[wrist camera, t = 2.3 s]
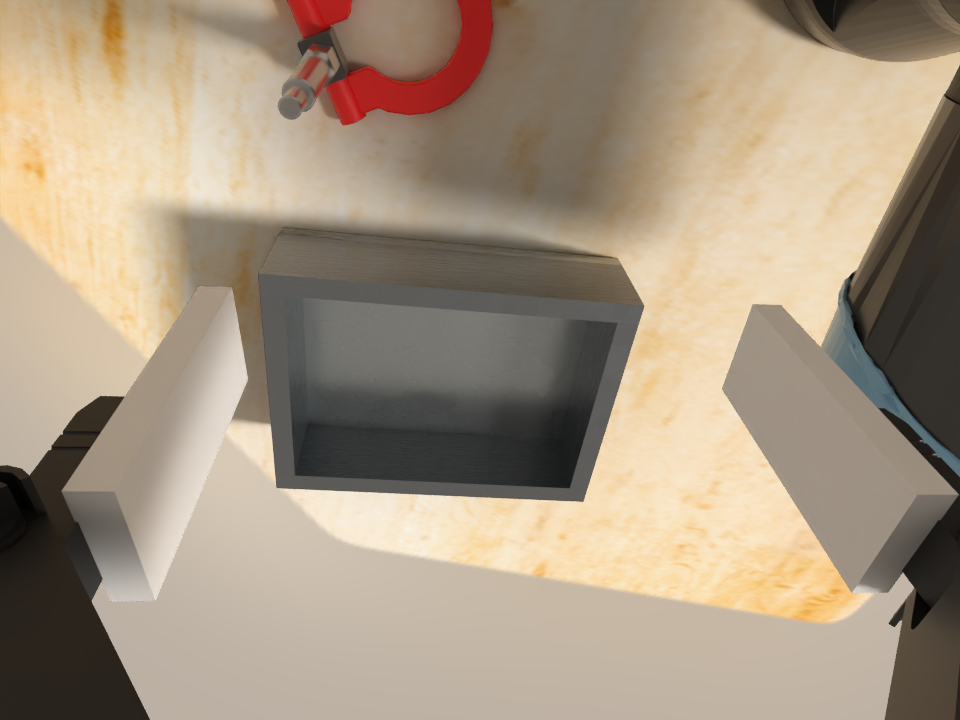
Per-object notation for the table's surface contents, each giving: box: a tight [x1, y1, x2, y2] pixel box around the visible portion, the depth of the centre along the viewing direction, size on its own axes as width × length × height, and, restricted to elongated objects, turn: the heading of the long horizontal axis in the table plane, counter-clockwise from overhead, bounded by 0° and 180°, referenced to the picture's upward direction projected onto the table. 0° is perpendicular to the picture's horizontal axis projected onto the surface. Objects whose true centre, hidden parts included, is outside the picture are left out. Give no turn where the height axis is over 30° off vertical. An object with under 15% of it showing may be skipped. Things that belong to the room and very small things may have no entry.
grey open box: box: [258, 228, 644, 502], centre depth 39 cm, size 20×15×6 cm
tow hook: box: [278, 0, 493, 125], centre depth 26 cm, size 8×13×9 cm
